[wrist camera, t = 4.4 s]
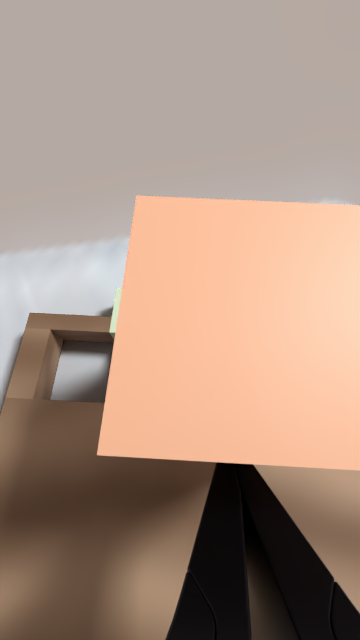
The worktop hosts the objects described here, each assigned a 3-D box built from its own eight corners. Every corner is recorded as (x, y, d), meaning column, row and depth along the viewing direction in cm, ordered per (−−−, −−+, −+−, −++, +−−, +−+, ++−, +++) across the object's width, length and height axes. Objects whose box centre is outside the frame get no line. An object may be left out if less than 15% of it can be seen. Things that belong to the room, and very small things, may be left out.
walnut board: (448, 658, 12) (495, 697, 11) (-35, 626, 13) (-70, 657, 11) (374, 341, 18) (396, 330, 16) (44, 325, 19) (29, 312, 17)
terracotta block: (269, 450, 14) (450, 475, 5) (150, 443, 14) (96, 454, 5) (262, 337, 16) (372, 205, 7) (160, 331, 16) (136, 195, 7)
